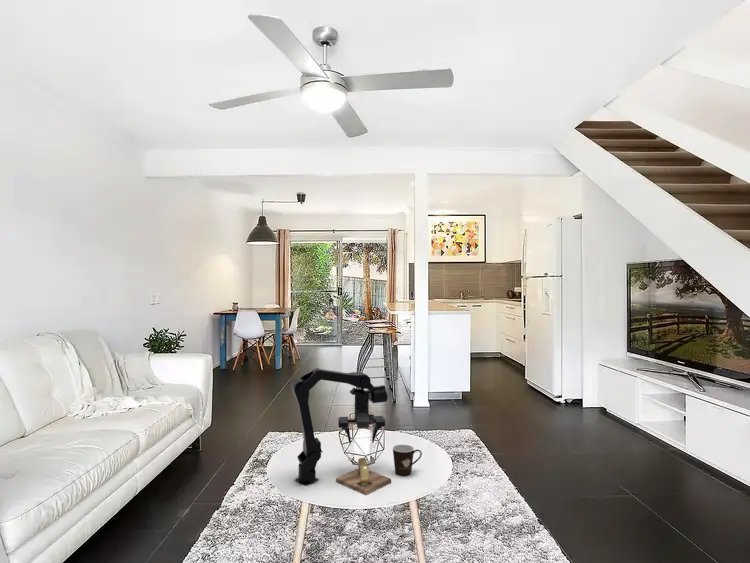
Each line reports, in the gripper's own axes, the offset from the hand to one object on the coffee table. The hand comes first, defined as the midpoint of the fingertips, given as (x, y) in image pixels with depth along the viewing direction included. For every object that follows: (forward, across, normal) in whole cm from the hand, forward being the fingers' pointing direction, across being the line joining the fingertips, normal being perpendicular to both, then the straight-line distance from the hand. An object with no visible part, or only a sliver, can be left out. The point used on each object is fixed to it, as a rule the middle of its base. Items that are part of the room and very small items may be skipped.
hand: (361, 442), depth 187 cm
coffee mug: (+12, +18, -3) cm, 22 cm away
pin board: (+12, 0, -9) cm, 15 cm away
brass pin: (+12, 0, -14) cm, 18 cm away
